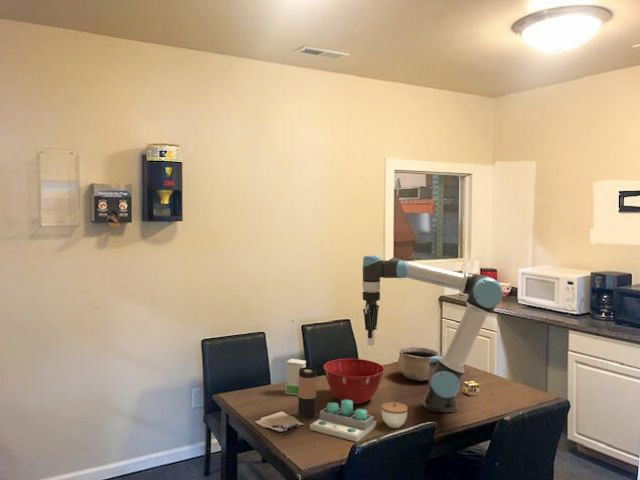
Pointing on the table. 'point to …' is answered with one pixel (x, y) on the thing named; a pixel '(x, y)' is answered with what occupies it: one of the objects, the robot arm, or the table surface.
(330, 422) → the button panel
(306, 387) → the travel mug
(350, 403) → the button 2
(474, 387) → the rubik's cube
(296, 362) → the skincare box
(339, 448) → the table surface
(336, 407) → the button
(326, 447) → the table surface
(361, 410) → the button
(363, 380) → the mixing bowl
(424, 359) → the ceramic bowl
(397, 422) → the lidded jar
